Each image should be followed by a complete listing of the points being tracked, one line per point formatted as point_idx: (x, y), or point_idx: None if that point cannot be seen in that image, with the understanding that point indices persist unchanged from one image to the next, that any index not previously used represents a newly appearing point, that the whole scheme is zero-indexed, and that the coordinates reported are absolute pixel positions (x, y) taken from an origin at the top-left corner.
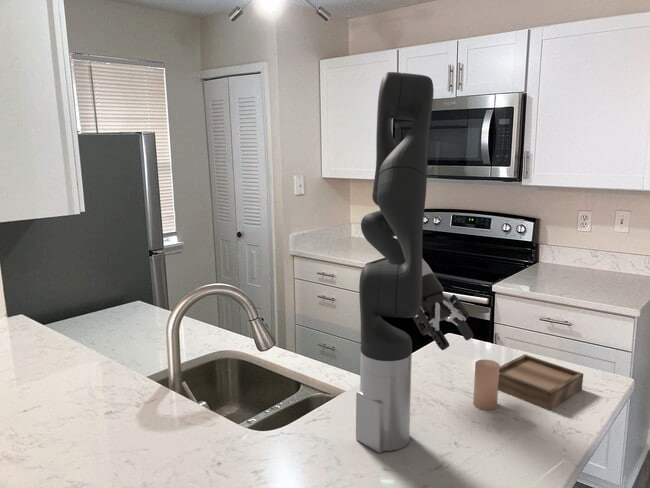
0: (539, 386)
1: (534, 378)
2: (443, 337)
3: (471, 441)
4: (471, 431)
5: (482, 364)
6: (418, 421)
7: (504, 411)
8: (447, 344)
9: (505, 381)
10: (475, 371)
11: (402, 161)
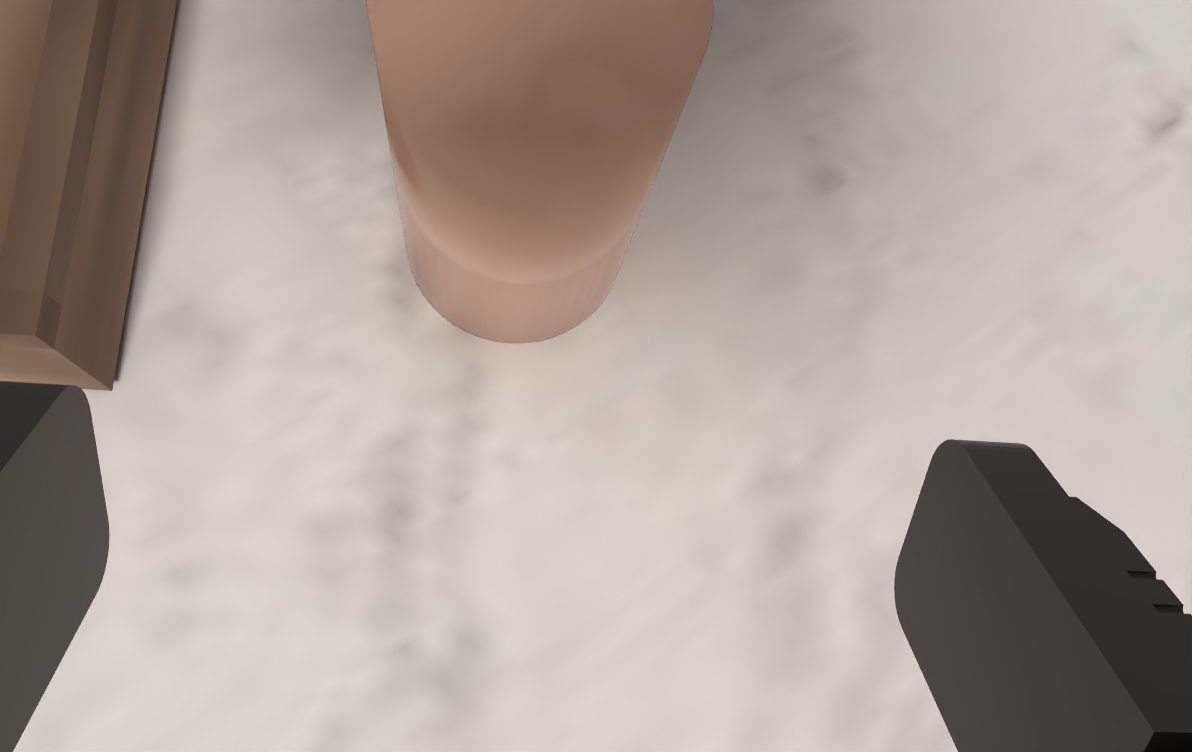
0: None
1: None
2: (1100, 564)
3: (1060, 60)
4: (956, 121)
5: (601, 34)
6: (1182, 491)
7: None
8: (1020, 447)
9: (98, 172)
10: (655, 151)
11: None
